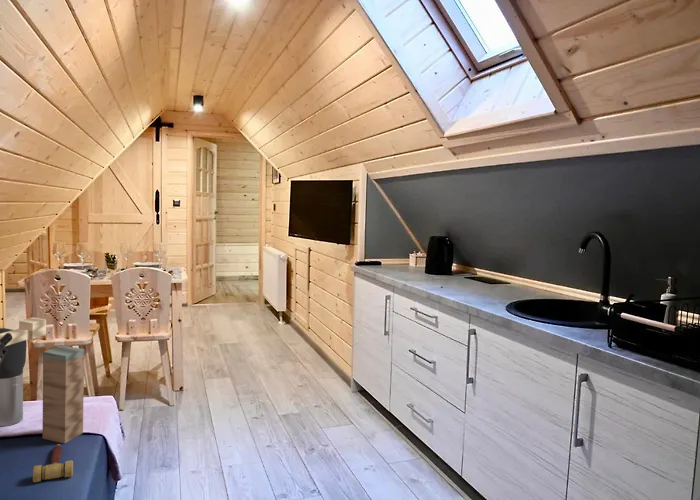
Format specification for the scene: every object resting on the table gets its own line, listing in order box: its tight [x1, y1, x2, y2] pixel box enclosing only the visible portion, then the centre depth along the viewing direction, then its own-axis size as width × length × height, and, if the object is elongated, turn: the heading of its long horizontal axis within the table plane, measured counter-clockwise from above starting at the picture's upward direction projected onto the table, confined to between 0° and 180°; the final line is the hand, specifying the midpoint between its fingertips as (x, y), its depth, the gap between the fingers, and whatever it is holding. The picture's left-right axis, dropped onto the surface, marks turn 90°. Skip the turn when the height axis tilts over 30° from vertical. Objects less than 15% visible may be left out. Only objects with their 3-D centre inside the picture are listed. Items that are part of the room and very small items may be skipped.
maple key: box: [0, 316, 47, 346], centre depth 152 cm, size 17×5×5 cm, turn 166°
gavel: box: [32, 443, 74, 483], centre depth 158 cm, size 21×5×10 cm
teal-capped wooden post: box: [42, 345, 85, 444], centre depth 173 cm, size 8×9×30 cm
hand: (5, 334), depth 148 cm, fingers closed on maple key, 3 cm apart
